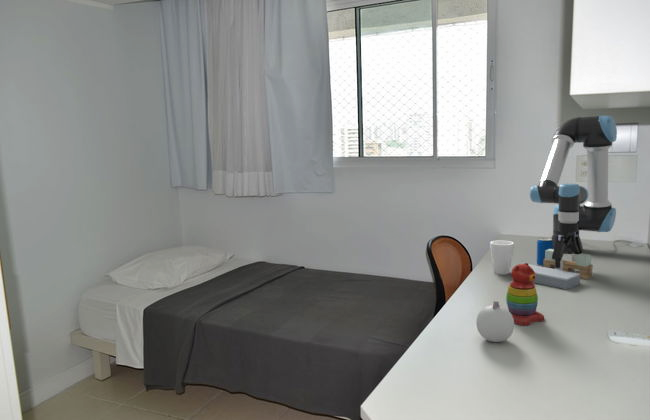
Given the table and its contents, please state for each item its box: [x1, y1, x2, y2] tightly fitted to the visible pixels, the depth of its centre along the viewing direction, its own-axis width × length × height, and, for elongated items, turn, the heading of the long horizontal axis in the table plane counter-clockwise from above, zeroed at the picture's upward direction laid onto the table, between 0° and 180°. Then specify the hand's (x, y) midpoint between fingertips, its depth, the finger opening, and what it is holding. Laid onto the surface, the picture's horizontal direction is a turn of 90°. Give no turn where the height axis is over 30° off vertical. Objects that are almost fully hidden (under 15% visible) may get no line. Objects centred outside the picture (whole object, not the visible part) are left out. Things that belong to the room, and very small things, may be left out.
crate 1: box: [545, 249, 555, 261], centre depth 210 cm, size 4×4×4 cm
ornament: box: [475, 300, 515, 343], centre depth 143 cm, size 10×10×12 cm
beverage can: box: [536, 237, 553, 267], centre depth 219 cm, size 6×6×12 cm
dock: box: [528, 263, 581, 290], centre depth 197 cm, size 10×22×4 cm, turn 37°
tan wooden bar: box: [543, 259, 594, 280], centre depth 205 cm, size 5×18×5 cm, turn 37°
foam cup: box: [489, 239, 515, 276], centre depth 211 cm, size 10×9×13 cm
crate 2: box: [576, 253, 592, 267], centre depth 200 cm, size 4×4×4 cm
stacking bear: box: [505, 262, 546, 326], centre depth 158 cm, size 11×10×18 cm
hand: (566, 272), depth 205 cm, fingers open, 13 cm apart
